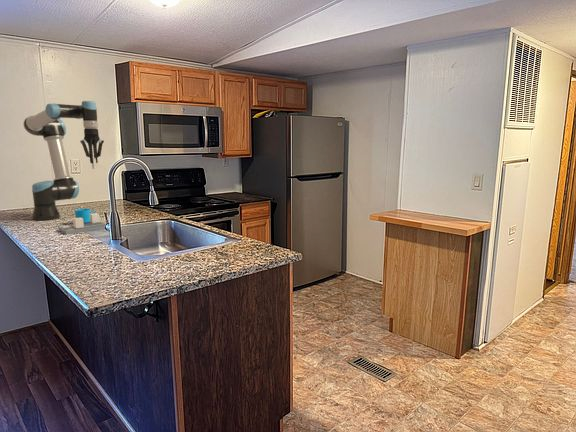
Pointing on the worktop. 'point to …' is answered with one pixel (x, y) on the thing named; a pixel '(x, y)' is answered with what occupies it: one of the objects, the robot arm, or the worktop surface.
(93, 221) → the tab
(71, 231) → the switch bank
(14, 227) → the worktop surface
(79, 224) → the tab
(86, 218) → the mug
